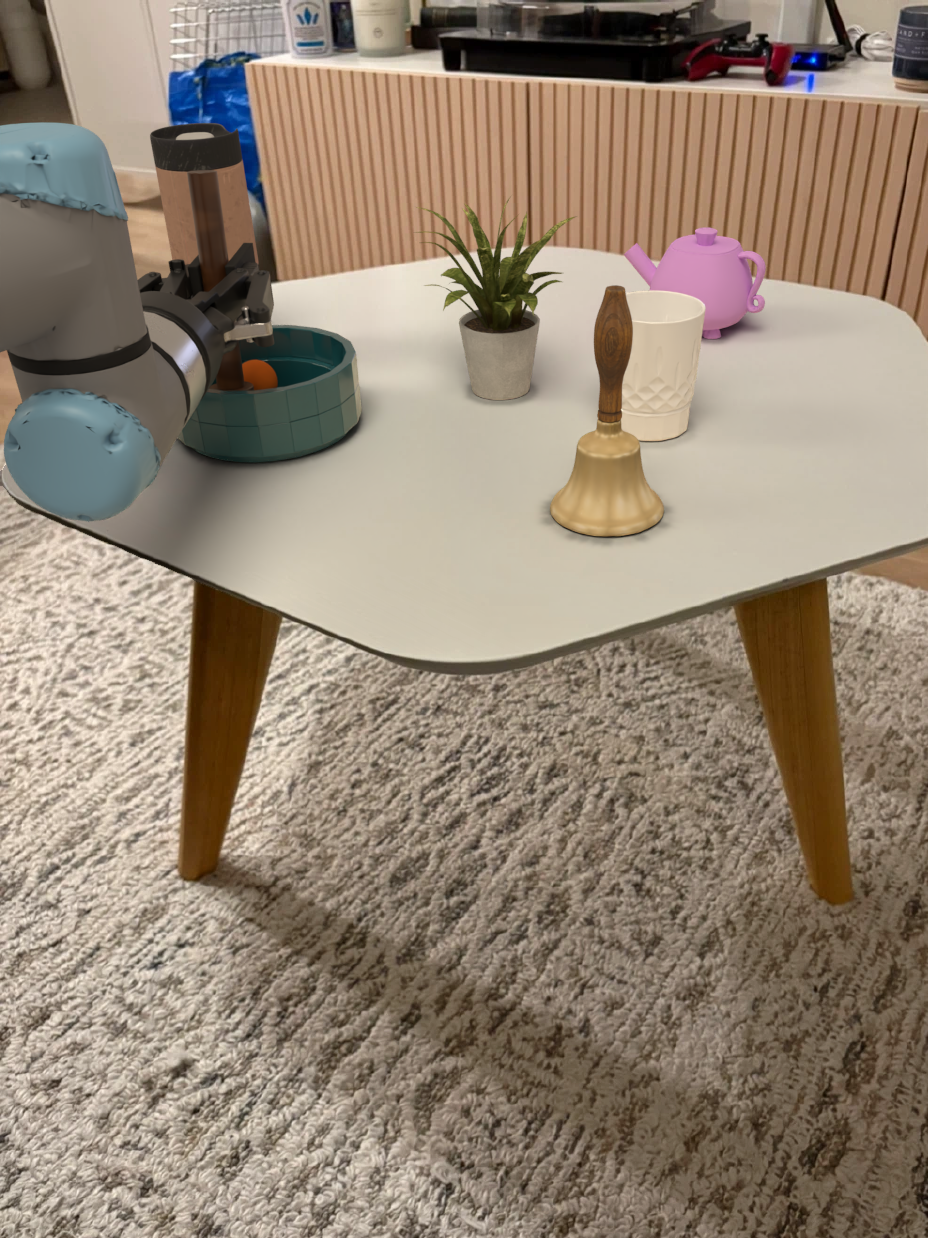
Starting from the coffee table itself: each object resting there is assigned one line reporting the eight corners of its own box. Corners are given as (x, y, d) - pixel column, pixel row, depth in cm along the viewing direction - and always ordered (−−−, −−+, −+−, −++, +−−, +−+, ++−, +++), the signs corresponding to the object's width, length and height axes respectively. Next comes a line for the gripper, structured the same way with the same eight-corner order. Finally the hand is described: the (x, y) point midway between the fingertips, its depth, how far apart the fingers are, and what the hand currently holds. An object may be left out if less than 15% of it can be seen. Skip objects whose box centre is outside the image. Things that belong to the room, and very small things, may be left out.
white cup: (663, 453, 88) (672, 329, 82) (582, 430, 92) (585, 309, 86) (712, 420, 93) (723, 301, 87) (632, 399, 97) (638, 283, 91)
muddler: (209, 417, 89) (173, 173, 80) (214, 405, 92) (181, 169, 83) (254, 415, 89) (223, 172, 80) (258, 403, 92) (229, 168, 84)
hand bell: (531, 497, 82) (530, 280, 73) (628, 475, 85) (640, 263, 75) (581, 547, 76) (587, 317, 67) (685, 522, 79) (705, 297, 69)
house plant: (378, 404, 97) (360, 208, 87) (450, 352, 107) (441, 171, 97) (526, 431, 92) (525, 226, 82) (587, 373, 102) (592, 184, 92)
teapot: (743, 351, 106) (755, 251, 100) (601, 328, 111) (604, 232, 106) (777, 319, 113) (789, 223, 107) (641, 298, 119) (646, 207, 113)
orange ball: (234, 403, 96) (220, 370, 93) (262, 378, 98) (249, 345, 95) (263, 416, 95) (249, 383, 92) (291, 391, 96) (278, 358, 93)
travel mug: (182, 372, 104) (136, 140, 92) (203, 343, 110) (162, 122, 98) (262, 372, 103) (227, 139, 91) (279, 343, 110) (247, 121, 98)
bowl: (152, 466, 88) (135, 394, 84) (202, 390, 100) (190, 324, 96) (346, 466, 87) (338, 393, 83) (373, 390, 99) (366, 324, 96)
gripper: (49, 420, 74) (150, 306, 93) (275, 419, 73) (330, 304, 92) (18, 308, 69) (131, 212, 88) (258, 306, 69) (320, 210, 88)
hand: (233, 259), depth 90 cm, fingers closed on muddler, 2 cm apart
